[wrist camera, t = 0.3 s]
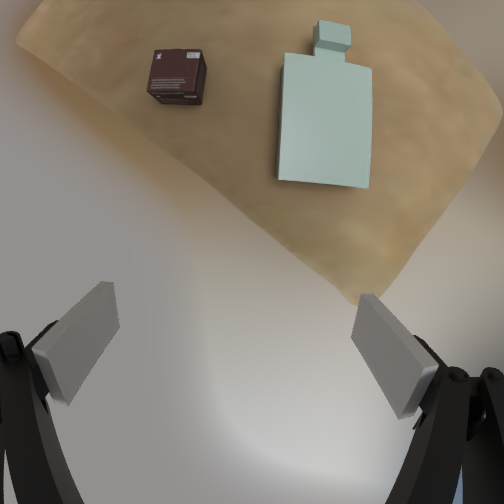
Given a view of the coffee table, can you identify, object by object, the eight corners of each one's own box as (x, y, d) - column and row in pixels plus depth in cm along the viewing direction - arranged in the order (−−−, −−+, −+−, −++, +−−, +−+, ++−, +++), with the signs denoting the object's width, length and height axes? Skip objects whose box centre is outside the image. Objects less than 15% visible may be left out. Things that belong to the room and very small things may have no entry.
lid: (284, 22, 28) (288, 10, 25) (366, 38, 29) (376, 29, 25) (277, 179, 34) (281, 180, 31) (365, 188, 35) (376, 190, 31)
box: (160, 104, 35) (144, 92, 28) (167, 67, 34) (153, 49, 27) (202, 105, 36) (193, 92, 29) (208, 68, 34) (201, 48, 27)
